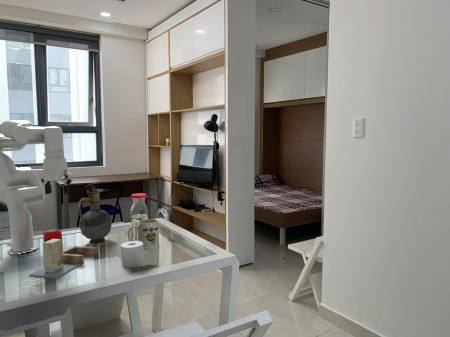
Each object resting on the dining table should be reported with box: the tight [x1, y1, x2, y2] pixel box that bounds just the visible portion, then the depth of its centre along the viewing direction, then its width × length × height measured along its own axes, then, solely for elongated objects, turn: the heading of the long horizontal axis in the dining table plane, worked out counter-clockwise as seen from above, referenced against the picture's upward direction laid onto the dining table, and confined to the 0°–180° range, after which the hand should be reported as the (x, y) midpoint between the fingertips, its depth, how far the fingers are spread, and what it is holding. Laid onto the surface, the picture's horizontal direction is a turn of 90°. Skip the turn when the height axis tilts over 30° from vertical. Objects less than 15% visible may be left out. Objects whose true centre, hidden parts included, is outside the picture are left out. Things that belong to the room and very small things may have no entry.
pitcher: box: [77, 185, 112, 245], centre depth 183 cm, size 11×19×30 cm, turn 157°
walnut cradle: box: [62, 245, 100, 266], centre depth 158 cm, size 13×12×4 cm
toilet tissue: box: [120, 240, 154, 269], centre depth 151 cm, size 9×13×9 cm
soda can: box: [43, 228, 64, 252], centre depth 165 cm, size 8×8×12 cm
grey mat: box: [28, 264, 79, 280], centre depth 145 cm, size 13×13×1 cm
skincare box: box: [42, 239, 63, 272], centre depth 145 cm, size 6×4×12 cm
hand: (57, 193), depth 156 cm, fingers open, 9 cm apart
